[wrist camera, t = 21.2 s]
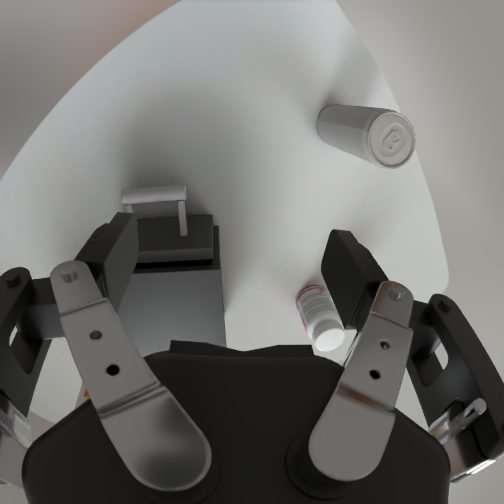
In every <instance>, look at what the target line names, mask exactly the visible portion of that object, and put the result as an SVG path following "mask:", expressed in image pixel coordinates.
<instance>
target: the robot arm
mask: <svg viewBox="0 0 504 504" xmlns="http://www.w3.org/2000/svg"><path fill="white" fill-rule="evenodd" d="M138 256H139V242H138V228H137V216H136V214H135V213H124V212H117V213H116V215H115V216H114V217H113V219H112V220H111V222H110V223H109V224H108V223H105V224H103V225H102V226H100V227H99V228H97V229H96V230H95V231H94V232H93V234H92V235H91V238H89V239H88V241H87V243H86V244H85V245H84V246H83V248H82V249H81V251H80V252H79V253H78V255H77V256H76V258H75V259H74V260H72V261H67V262H64V263H61V264H59V265H58V266H56V267H55V268H54V269H53V270H52V272H51V274H50V277H48V278H41V279H33V280H32V278H31V275H30V272H29V270H28V269H26V268H23V267H17V268H13V269H10V270H8V271H6V272H5V273H4V274H2V275H1V277H0V484H7V483H8V484H10V485H13V486H15V487H17V488H19V489H22V490H24V491H25V494H26V497H27V500H28V503H29V504H448V494H449V485H450V482H452V483H458V482H460V481H462V480H464V479H466V478H467V477H470V476H471V475H473V474H475V473H476V472H478V471H480V470H482V469H483V468H485V467H486V466H488V465H490V464H491V463H493V462H494V461H496V460H497V459H499V458H500V457H502V456H503V455H504V383H503V381H502V379H501V377H500V376H499V373H498V372H497V370H496V368H495V366H494V364H493V362H492V361H491V359H490V357H489V355H488V354H487V352H486V350H485V348H484V347H483V345H482V343H481V342H480V340H479V338H478V337H477V335H476V334H475V332H474V330H473V329H472V327H471V326H470V324H469V322H468V321H467V319H466V318H465V317H464V315H463V313H462V312H461V310H460V309H459V307H458V306H457V305H456V303H455V302H454V301H453V300H451V299H450V298H448V297H447V296H445V295H442V294H434V295H432V296H431V298H430V300H429V302H428V304H427V303H423V302H419V301H415V300H414V298H413V295H412V293H411V292H410V291H409V290H408V289H407V288H406V287H405V286H403V285H402V284H400V283H397V282H394V281H389V279H388V278H387V276H386V275H385V273H384V272H383V270H382V269H381V267H380V266H379V265H378V263H377V262H376V260H375V259H373V256H372V254H371V253H370V252H369V250H368V249H367V248H365V247H364V246H363V245H361V244H360V243H358V241H357V240H356V239H355V237H354V236H353V234H352V233H351V232H350V231H345V230H336V229H333V230H332V231H331V232H330V235H329V238H328V242H327V245H326V249H325V252H324V255H323V259H322V263H321V273H322V276H323V278H324V281H325V283H326V285H327V288H328V290H329V292H330V295H331V297H332V300H333V302H334V304H335V307H336V309H337V312H338V314H339V317H340V319H341V322H342V324H343V327H344V329H345V330H348V329H356V330H357V333H356V335H355V337H354V339H353V341H352V343H351V345H350V347H349V349H348V351H347V354H346V356H345V358H344V360H343V362H342V363H341V365H340V364H338V363H336V362H334V361H332V360H330V359H327V358H324V357H321V356H317V355H314V353H313V349H312V345H276V346H271V347H266V348H261V349H255V350H250V351H238V350H234V349H230V348H226V347H222V346H218V345H214V344H210V343H206V342H193V341H180V340H171V342H170V348H169V350H166V351H161V352H156V353H153V354H150V355H147V356H145V357H142V355H141V354H140V352H139V351H138V349H137V348H136V346H135V344H134V343H133V341H132V339H131V338H130V336H129V334H128V333H127V331H126V329H125V328H124V326H123V324H122V323H121V321H120V319H119V317H118V316H117V312H118V309H119V306H120V304H121V301H122V298H123V296H124V293H125V291H126V288H127V286H128V283H129V281H130V278H131V276H132V273H133V271H134V268H135V266H136V264H137V261H138ZM15 326H16V328H17V330H18V331H17V333H16V335H15V337H14V339H13V342H12V344H11V346H10V345H9V340H10V335H11V333H12V331H13V329H14V327H15ZM56 338H66V339H67V342H68V345H69V348H70V351H71V353H72V356H73V359H74V361H75V364H76V366H77V369H78V371H79V374H80V376H81V378H82V381H83V383H84V385H85V388H86V390H87V392H88V394H89V396H90V398H88V399H87V400H86V401H85V402H83V403H82V404H81V405H80V406H78V407H77V408H76V409H74V410H73V411H72V412H71V413H69V414H68V415H67V416H66V417H64V418H63V419H62V420H60V421H59V422H58V423H57V424H55V425H54V426H53V427H51V428H50V429H49V430H48V431H46V432H45V433H44V434H42V435H41V436H40V437H38V439H36V440H35V441H34V442H33V440H32V429H31V425H30V423H29V421H28V420H27V415H28V411H29V407H30V404H31V400H32V397H33V393H34V390H35V387H36V384H37V381H38V377H39V374H40V371H41V369H42V366H43V363H44V360H45V357H46V355H47V352H48V349H49V347H50V344H51V341H52V339H56ZM441 342H442V344H443V345H444V347H445V350H446V351H447V354H448V364H447V366H446V368H445V369H444V370H443V369H442V367H441V364H440V362H439V361H438V358H437V356H436V354H435V352H434V351H435V350H436V348H437V347H438V346H439V344H440V343H441ZM405 368H407V371H408V373H409V376H410V378H411V381H412V383H413V386H414V388H415V391H416V394H417V396H418V399H419V402H420V404H421V407H422V410H423V413H424V416H425V419H426V421H427V425H428V427H429V431H428V432H427V431H426V430H424V429H423V428H422V427H420V426H419V425H418V424H416V423H415V422H414V421H412V420H411V419H410V418H408V417H407V416H406V415H404V414H403V413H402V412H401V411H399V410H398V409H397V408H395V404H396V400H397V397H398V394H399V390H400V387H401V383H402V379H403V375H404V371H405Z"/></svg>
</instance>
